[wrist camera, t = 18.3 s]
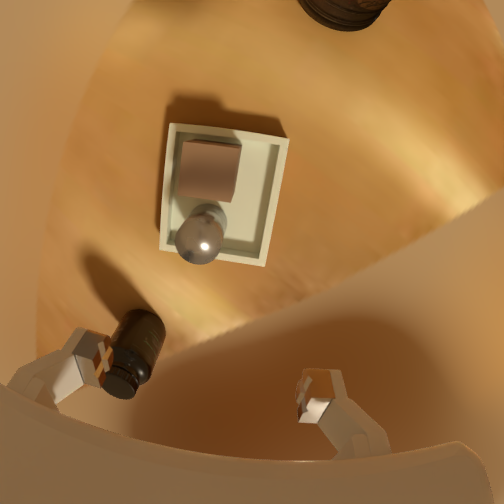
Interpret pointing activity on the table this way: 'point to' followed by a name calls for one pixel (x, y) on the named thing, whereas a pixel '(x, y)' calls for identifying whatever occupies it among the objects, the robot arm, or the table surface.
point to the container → (344, 12)
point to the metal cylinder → (201, 234)
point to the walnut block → (209, 170)
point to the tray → (245, 196)
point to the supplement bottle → (134, 353)
